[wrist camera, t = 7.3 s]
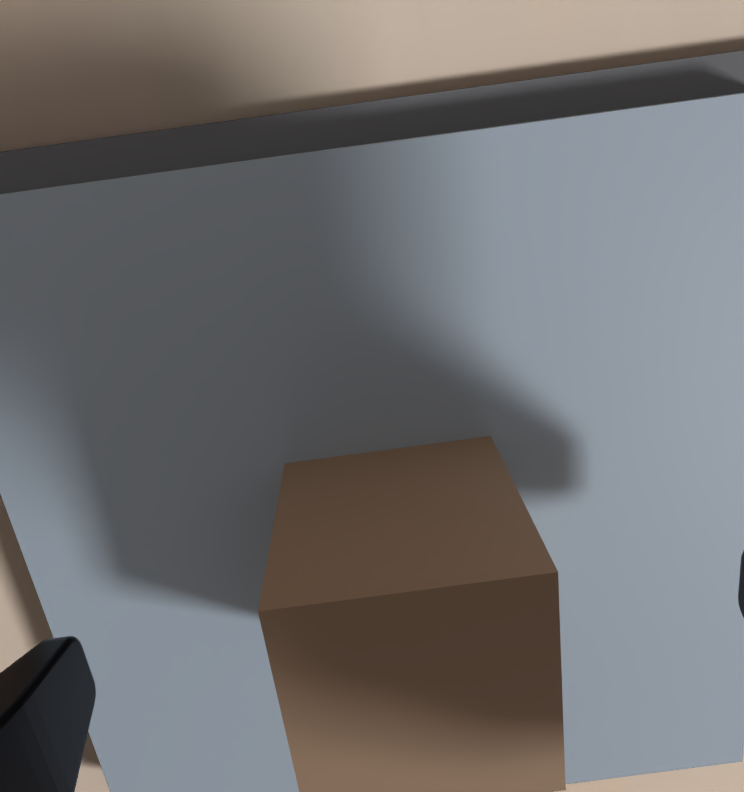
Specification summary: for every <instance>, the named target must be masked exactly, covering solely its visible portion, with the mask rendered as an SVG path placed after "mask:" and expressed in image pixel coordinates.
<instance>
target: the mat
mask: <svg viewBox="0 0 744 792" xmlns="http://www.w3.org/2000/svg"><path fill="white" fill-rule="evenodd" d="M737 93H744V50H743V51H736V52H728V53H721V54H714V55H706V56H699V57H692V58H684V59H677V60H670V61H662V62H655V63H648V64H640V65H633V66H626V67H619V68H611V69H604V70H597V71H589V72H582V73H575V74H567V75H560V76H553V77H545V78H538V79H531V80H523V81H516V82H509V83H501V84H494V85H487V86H480V87H472V88H465V89H458V90H450V91H443V92H436V93H428V94H421V95H414V96H406V97H399V98H392V99H384V100H377V101H370V102H363V103H355V104H348V105H341V106H333V107H326V108H319V109H311V110H304V111H297V112H289V113H282V114H275V115H267V116H260V117H253V118H246V119H238V120H231V121H224V122H216V123H209V124H202V125H194V126H187V127H180V128H172V129H165V130H158V131H150V132H143V133H136V134H129V135H121V136H114V137H107V138H99V139H92V140H85V141H77V142H70V143H63V144H55V145H48V146H41V147H33V148H26V149H19V150H12V151H4V152H0V194H6V193H13V192H20V191H27V190H35V189H42V188H49V187H57V186H64V185H71V184H79V183H86V182H93V181H101V180H108V179H115V178H122V177H130V176H137V175H144V174H152V173H159V172H166V171H174V170H181V169H188V168H196V167H203V166H210V165H218V164H225V163H232V162H239V161H247V160H254V159H261V158H269V157H276V156H283V155H291V154H298V153H305V152H313V151H320V150H327V149H334V148H342V147H349V146H356V145H364V144H371V143H378V142H386V141H393V140H400V139H408V138H415V137H422V136H430V135H437V134H444V133H451V132H459V131H466V130H473V129H481V128H488V127H495V126H503V125H510V124H517V123H525V122H532V121H539V120H546V119H554V118H561V117H568V116H576V115H583V114H590V113H598V112H605V111H612V110H620V109H627V108H634V107H641V106H649V105H656V104H663V103H671V102H678V101H685V100H693V99H700V98H707V97H715V96H722V95H729V94H737Z"/></svg>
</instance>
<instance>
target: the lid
mask: <svg viewBox="0 0 744 792" xmlns="http://www.w3.org/2000/svg"><path fill="white" fill-rule="evenodd" d="M0 494H1V497H2V500H3V502H4V505H5V508H6V510H7V513H8V516H9V519H10V521H11V524H12V527H13V529H14V532H15V535H16V538H17V540H18V543H19V546H20V548H21V551H22V554H23V556H24V559H25V562H26V565H27V567H28V570H29V573H30V575H31V578H32V581H33V584H34V586H35V589H36V592H37V594H38V597H39V600H40V603H41V605H42V608H43V611H44V613H45V616H46V619H47V621H48V624H49V627H50V630H51V632H52V635H53V638H59V637H66V636H74V637H76V638H77V639H78V640H79V641H80V643H81V645H82V647H83V650H84V653H85V656H86V659H87V661H88V664H89V667H90V670H91V673H92V676H93V678H94V682H95V687H96V698H95V704H94V708H93V713H92V717H91V721H90V726H89V730H88V732H89V735H90V738H91V741H92V743H93V746H94V749H95V751H96V754H97V757H98V760H99V762H100V765H101V768H102V770H103V773H104V776H105V778H106V781H107V784H108V787H109V789H110V792H553V791H561V790H566V786H565V784H571V783H578V782H586V781H594V780H602V779H610V778H617V777H625V776H633V775H641V774H649V773H656V772H664V771H672V770H680V769H687V768H695V767H703V766H711V765H719V764H726V763H734V762H742V755H743V744H744V618H743V616H742V613H741V611H740V607H739V603H738V589H739V577H740V564H741V556H742V553H743V551H744V93H737V94H729V95H722V96H715V97H707V98H700V99H693V100H685V101H678V102H671V103H663V104H656V105H649V106H641V107H634V108H627V109H620V110H612V111H605V112H598V113H590V114H583V115H576V116H568V117H561V118H554V119H546V120H539V121H532V122H525V123H517V124H510V125H503V126H495V127H488V128H481V129H473V130H466V131H459V132H451V133H444V134H437V135H430V136H422V137H415V138H408V139H400V140H393V141H386V142H378V143H371V144H364V145H356V146H349V147H342V148H334V149H327V150H320V151H313V152H305V153H298V154H291V155H283V156H276V157H269V158H261V159H254V160H247V161H239V162H232V163H225V164H218V165H210V166H203V167H196V168H188V169H181V170H174V171H166V172H159V173H152V174H144V175H137V176H130V177H122V178H115V179H108V180H101V181H93V182H86V183H79V184H71V185H64V186H57V187H49V188H42V189H35V190H27V191H20V192H13V193H6V194H0Z"/></svg>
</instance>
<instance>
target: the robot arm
mask: <svg viewBox="0 0 744 792" xmlns="http://www.w3.org/2000/svg"><path fill="white" fill-rule="evenodd" d="M738 603H739V607H740V611H741V613H742V616H743V618H744V551H743V553H742V556H741V564H740V577H739V589H738ZM95 698H96V687H95V682H94V678H93V676H92V673H91V670H90V667H89V664H88V661H87V659H86V656H85V653H84V650H83V647H82V645H81V643H80V641H79V640H78V639H77V638H76V637H74V636H66V637H59V638H51V639H46V640H44V641H42V642H40V643H39V644H38V645H36V646H35V647H34V648H33V649H31V650H30V651H29V652H27V653H26V654H25V655H23V656H22V657H21V658H19V659H18V660H17V661H15V662H14V663H13V664H12V665H10V666H9V667H8V668H6V669H5V670H4V671H2V672H1V673H0V792H74V791H75V786H76V782H77V778H78V773H79V769H80V765H81V760H82V756H83V752H84V747H85V743H86V739H87V734H88V730H89V726H90V721H91V717H92V713H93V708H94V704H95Z"/></svg>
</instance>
